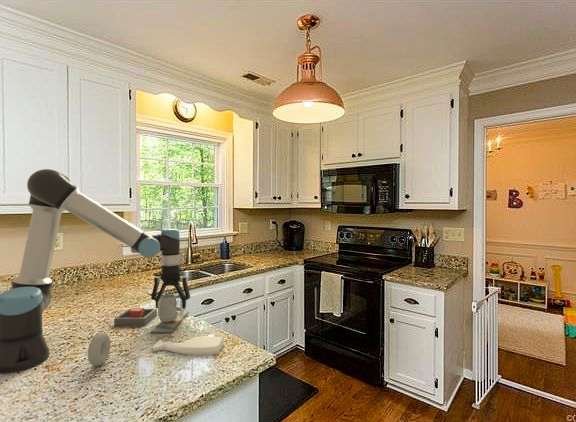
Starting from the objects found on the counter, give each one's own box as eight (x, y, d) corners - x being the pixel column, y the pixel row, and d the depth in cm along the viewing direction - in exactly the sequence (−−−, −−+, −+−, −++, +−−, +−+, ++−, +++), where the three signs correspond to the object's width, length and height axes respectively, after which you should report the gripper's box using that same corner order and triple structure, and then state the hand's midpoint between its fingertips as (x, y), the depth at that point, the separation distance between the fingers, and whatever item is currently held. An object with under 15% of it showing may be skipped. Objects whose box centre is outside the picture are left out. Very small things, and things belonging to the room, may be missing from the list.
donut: (102, 357, 108) (101, 328, 108) (112, 357, 109) (112, 327, 108) (85, 372, 98) (85, 340, 98) (97, 372, 99) (96, 340, 98)
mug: (156, 318, 140) (156, 291, 140) (182, 312, 147) (182, 286, 147) (162, 323, 134) (162, 294, 134) (189, 317, 142) (189, 290, 141)
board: (171, 333, 129) (171, 331, 129) (150, 333, 129) (150, 331, 129) (188, 313, 153) (188, 311, 153) (171, 313, 153) (171, 311, 153)
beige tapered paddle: (217, 356, 109) (147, 356, 110) (225, 343, 120) (160, 343, 121) (217, 348, 109) (146, 348, 110) (225, 335, 120) (160, 335, 121)
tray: (144, 325, 137) (144, 318, 137) (114, 325, 137) (114, 318, 137) (156, 315, 150) (156, 308, 150) (129, 315, 150) (128, 308, 150)
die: (139, 321, 141) (139, 310, 140) (129, 321, 141) (129, 310, 141) (145, 317, 145) (144, 307, 145) (134, 317, 145) (134, 307, 145)
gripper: (197, 262, 144) (198, 312, 144) (149, 262, 144) (149, 312, 144) (193, 265, 137) (193, 318, 137) (141, 265, 136) (142, 318, 137)
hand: (170, 315), depth 140 cm, fingers closed on mug, 9 cm apart
